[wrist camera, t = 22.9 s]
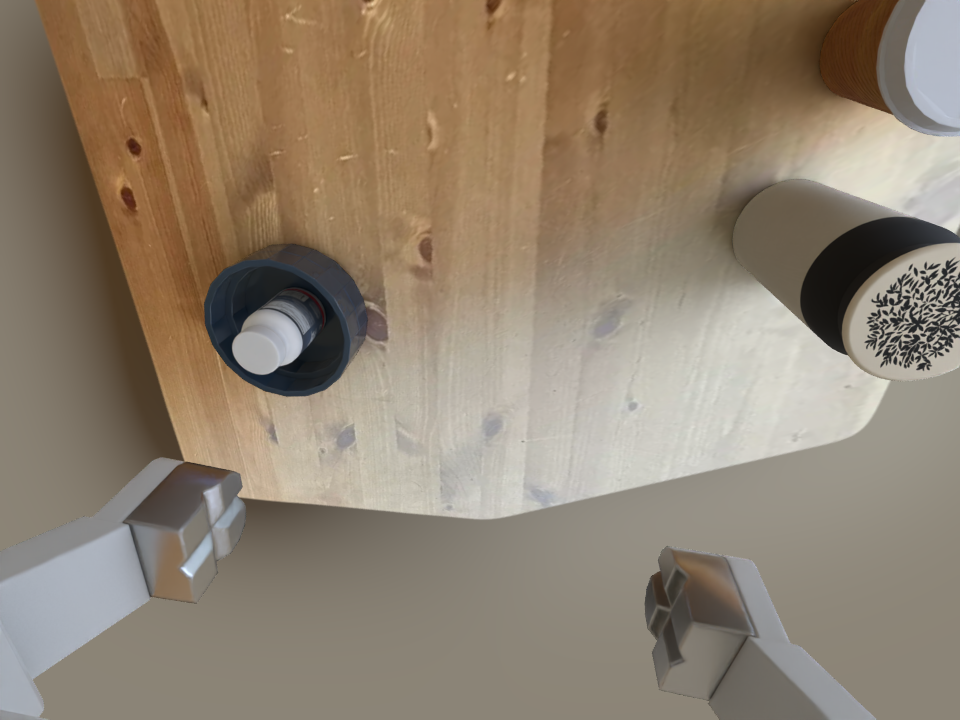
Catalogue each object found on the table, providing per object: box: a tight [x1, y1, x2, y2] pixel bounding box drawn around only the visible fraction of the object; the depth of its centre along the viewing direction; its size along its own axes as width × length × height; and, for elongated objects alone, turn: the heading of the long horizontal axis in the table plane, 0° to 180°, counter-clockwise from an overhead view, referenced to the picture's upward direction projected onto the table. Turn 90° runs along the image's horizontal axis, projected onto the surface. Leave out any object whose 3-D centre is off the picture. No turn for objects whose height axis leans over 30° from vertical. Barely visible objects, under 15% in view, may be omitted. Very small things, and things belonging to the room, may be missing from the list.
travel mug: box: [733, 179, 960, 381], centre depth 34 cm, size 8×8×18 cm
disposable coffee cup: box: [820, 0, 960, 136], centre depth 30 cm, size 10×10×12 cm
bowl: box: [204, 244, 368, 397], centre depth 48 cm, size 13×13×6 cm
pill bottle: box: [232, 287, 326, 375], centre depth 45 cm, size 5×5×9 cm
